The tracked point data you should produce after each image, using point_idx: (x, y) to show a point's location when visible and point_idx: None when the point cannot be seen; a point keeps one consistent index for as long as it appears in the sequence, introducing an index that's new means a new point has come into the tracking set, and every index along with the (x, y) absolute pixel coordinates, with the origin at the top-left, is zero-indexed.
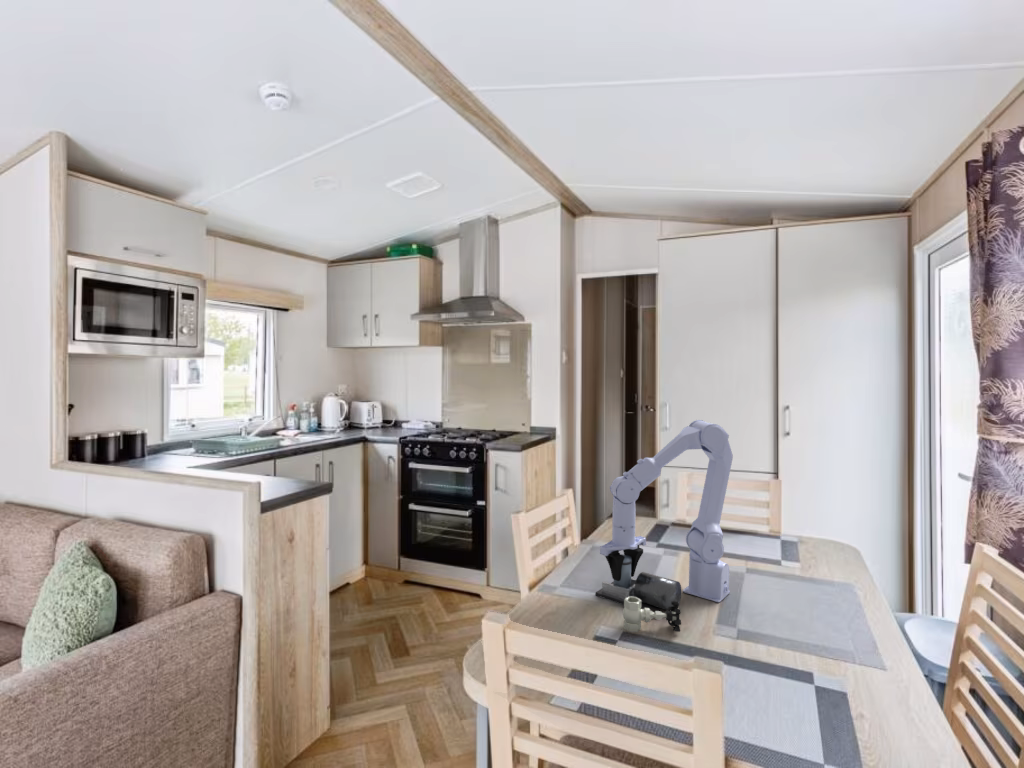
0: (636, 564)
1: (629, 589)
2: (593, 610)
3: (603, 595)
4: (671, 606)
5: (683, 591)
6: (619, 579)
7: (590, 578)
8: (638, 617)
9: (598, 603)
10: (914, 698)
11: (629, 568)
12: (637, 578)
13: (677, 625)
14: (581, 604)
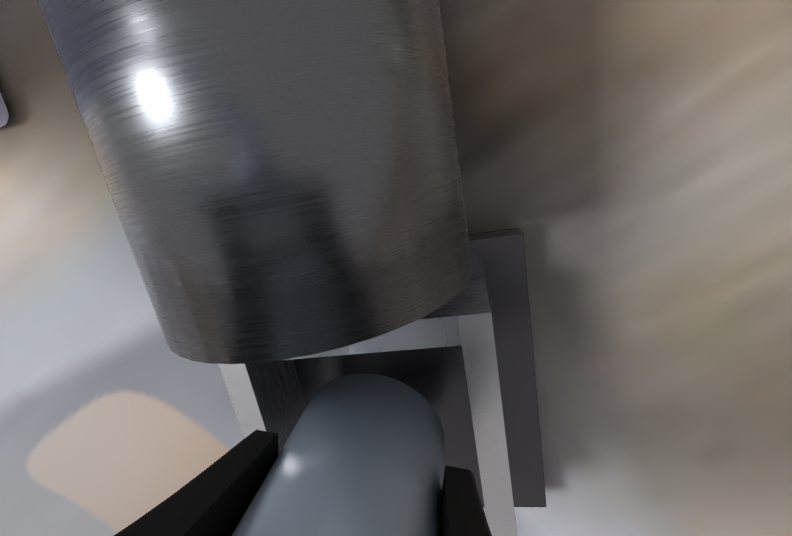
0: (145, 526)
1: (463, 326)
2: (785, 381)
3: (540, 450)
4: None
5: (2, 112)
6: (462, 478)
7: None
8: None
9: (641, 416)
10: None
11: (309, 531)
12: (396, 320)
13: None
14: (745, 482)
